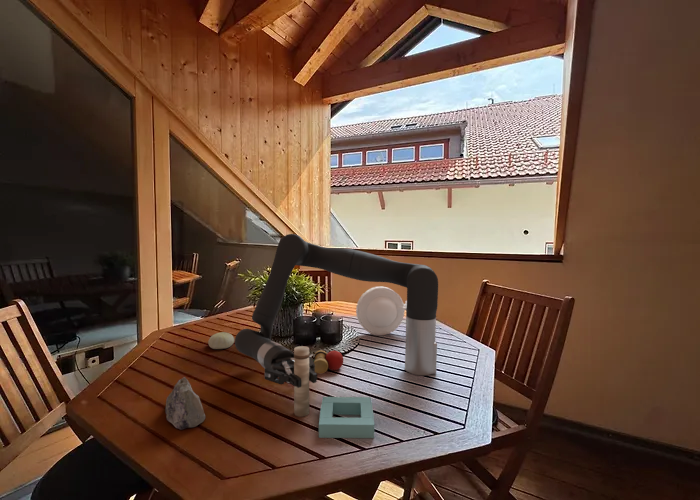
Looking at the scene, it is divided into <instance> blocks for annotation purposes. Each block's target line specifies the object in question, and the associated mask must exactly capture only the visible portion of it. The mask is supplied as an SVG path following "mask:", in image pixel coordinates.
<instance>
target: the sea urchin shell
mask: <svg viewBox="0 0 700 500" xmlns="http://www.w3.org/2000/svg"><path fill="white" fill-rule="evenodd" d="M207 343H208V346H209V347H210V348H211V349H213V350H223V349H228V348H230V347H232V346H233V344H235V337H234V335H232V334H231V333H229V332H225V331H222V332H217V333H214V334H212V335H211V336H210V337H209V339H208V341H207Z"/></svg>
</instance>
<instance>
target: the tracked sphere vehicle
mask: <svg viewBox="0 0 700 500" xmlns="http://www.w3.org/2000/svg"><path fill="white" fill-rule="evenodd" d="M438 306H439V304H438V303H437V307H438ZM406 307H407V300H405V303H404V301H403V299H402V297H401V295H400V294H399V293H397V292H396V291H395V290H393V289H391V288H390V287H386V286H382V285H381V286H373V287H370V288H369V289H367V290H366V291H365V292H364V293H362V294H361V296H360V297H359V299H358V301H357V303H356V308H355V314H356V318H357V320H358V323H359V325H360V326H361V327H362V329H364V330H365V332H367V333H370V334H371V335H374V336H385V335H389V334H391V333H393V332H394V331H396V330H397V329H398V328H399V327H400V325H401V324H402V323H403V321H404V317H405V313H406V312H405V311H406Z"/></svg>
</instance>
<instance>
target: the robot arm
mask: <svg viewBox="0 0 700 500" xmlns="http://www.w3.org/2000/svg"><path fill="white" fill-rule="evenodd" d="M278 241H279V242H278V243H277V244H278V245H277V247H276V251H275V254H274V259H273V262H272V265H271V269H270V272H269V275H268V278H267V281H266V282H265V286H264V288H263V290H262V292H261V294H260V297H259V299H258V302H257V304H256V306H255V308H254V311H253V312H252V316H251V320H252V321H253V322H254V323H256V324H257V325H259V326H260V330H259V331H257V330H254V329H251V328H242V329H241V330H239V331H238V332H237V333H236V335H235V337H234V346H235V348H236V350H237V351H238V352H239V353H241V354H243V355H245V356H248V357H250V358H252V359H254V360H255V361H256V362H257V363H259V364H260V365H261V367H262V368H264V380H267V381H268V382H273V383H276V384H278V385H284V384H285V383H287V384H291V385H292V386H293V387H294V386H296V387H297V388H299V387H301V378H300V377H298V376H297V375H295V374H294V351H292V350H290V349H288V348H287V347H285V346H283V345H282V344H280V343H278V342H275V340H272V333H273V328H274V323H275V320H276V318H277V316H278V314H279V313H278V312H279V311H280V308H281V307H282V304H283V300H284V297H285V293H286V292H285V291H286V288H287V284H288V281H289V278H290V276H291V274H292V272H293V270H294V269H295V266H300V267H307V268H313V269H314V268H315V269H319V270H324V271H327V272H328V273H332V274H335V275H338V276H342V277H345V278H347V279H352V280H356V281H362V282H369V283H370V282H371V283H372V282H373V283H387V284H388V283H389V284H393V285H397V286H400V287H404V288H406V301H407V307H406V310H405V311H406V312H405V315H406V316H405V348H404V349H405V350H404V352H405V353H404V354H405V355H404V369H405V371H406V372H407V373H409V374H412V375H416V376H430V375H433V374H437V361H438V360H437V359H438V358H437V357H438V356H437V355H438V343H437V342H436V331H437V325H436V323H437V311H438V306H437V304H438V302H439V279H438V276H437V273H436V272H435V271H434V270H433V269H432V268H431V267H430V266H428V265H426V264H421V263H420V264H418V263H411V262H410V263H409V262H401V261H396V260H393V259H390V258H386V257H383V256H380V255H377V254H373V253H370V252H366V251H362V250H358V249H354V248H353V249H352V248H342V247H341V248H339V247H325V246H321V245H317V244H314V243H311V242H309V241H306V240H304V239H303V237H301V236H300V235H298V234H295V233H289V234H286V235H284V236H283V237H281V239H279V240H278ZM313 360H314V359H313V358H312V357H310V356H309V382H311V383H312V384H316V383H317V381H318V373H316V372H315V364H314V362H313Z"/></svg>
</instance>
